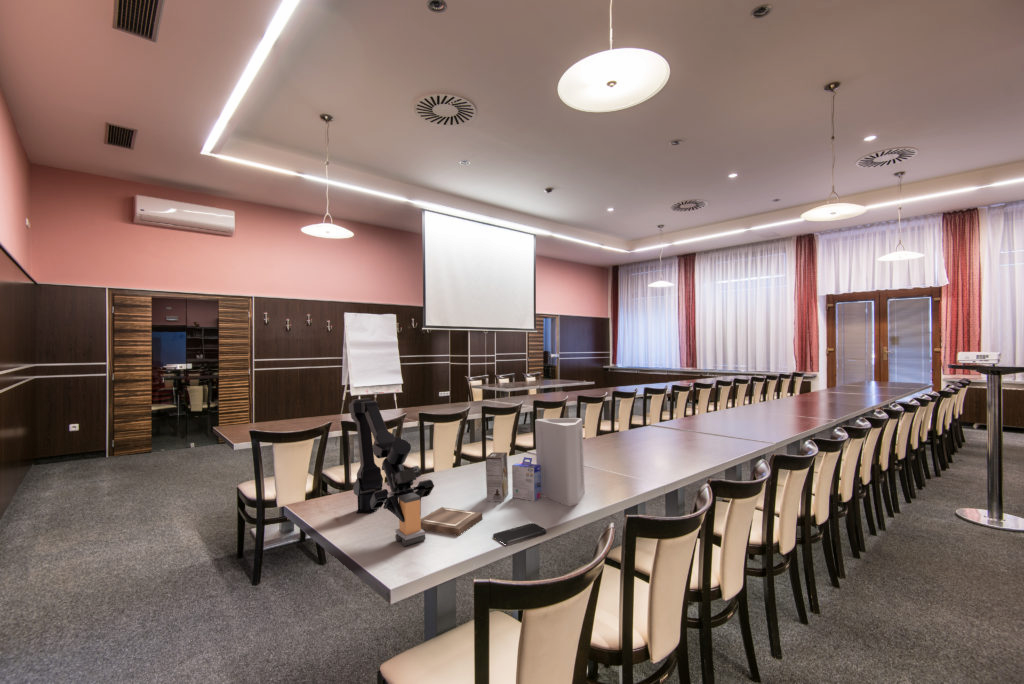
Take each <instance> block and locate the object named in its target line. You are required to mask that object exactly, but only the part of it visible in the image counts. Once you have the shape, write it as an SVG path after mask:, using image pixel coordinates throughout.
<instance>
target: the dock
mask: <svg viewBox="0 0 1024 684" xmlns="http://www.w3.org/2000/svg"><path fill="white" fill-rule="evenodd" d="M482 520H483V513H482V512H477V511H470V510H462V509H457V508H450V507H443V506H441V507H439V508H437V509H436V510H434V511H432V512H431V513H429V514H427V515H425V516H423V517H421V529H422V530H424V529H425V530H424V531H430V530H431V531H432V532H436V531H437V532H436V533H441V532H442V534H447V533H448V534H449V535H453V534H456V535H455V536H458V535H459V536H461V535H462V534H464V533H465V532H466V530H467V529H468V530H469V529H471V528H473V525H474V526H475V525H476V523H477V524H478V523H479V522H481V521H482ZM470 527H471V528H470ZM468 530H467V531H468ZM464 531H465V532H464ZM463 532H464V533H463ZM461 533H462V534H461ZM460 534H461V535H460Z"/></svg>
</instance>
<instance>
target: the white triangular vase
mask: <svg viewBox="0 0 1024 684" xmlns="http://www.w3.org/2000/svg"><path fill="white" fill-rule="evenodd" d="M534 422H535V425H534V427H535V429H534V430H535V451H536V452H535V453H536V454H535V455H536V457H535V458H536V464H537V465H541V496H543V497H545V496H546V497H545V498H547V497H548V498H547V499H549V498H550V499H549V500H552V501H554V502H556V501H557V503H559V504H562V505H564V506H566V507H572V506H576V505H579V503H580V502H581V500H582V498H583V497H584V496H585V492H586V490H585V487H586V485H585V467H584V466H585V464H584V463H585V462H584V461H585V460H584V437H583V436H584V433H583V431H584V429H583V419H582V418H579V417H569V418H568V417H561V418H559V417H558V418H552V417H551V418H538V419H535V421H534Z"/></svg>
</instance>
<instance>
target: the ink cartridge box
mask: <svg viewBox="0 0 1024 684" xmlns="http://www.w3.org/2000/svg"><path fill="white" fill-rule="evenodd" d="M526 460H528V461H526ZM532 462H533V458H532V457H525V456H523V460H522V462H517V463H515V464H512V465H511V475H512V476H511V477H512V478H511V479H512V480H511V481H512V484H511V485H512V486H511V487H512V489H511V490H512V498H513V497H514V498H513V499H520V500H521V499H522V500H526V501H533V502H535V501H537V500H539V499H541V498H542V495H541V465H537V463H536V464H535V463H532Z"/></svg>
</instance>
